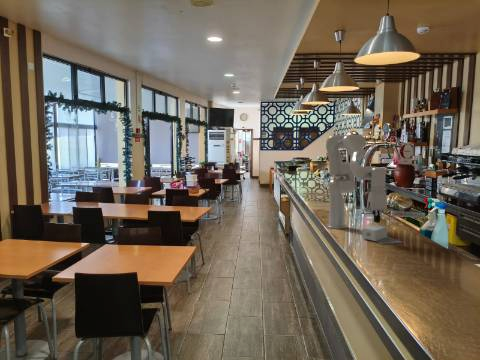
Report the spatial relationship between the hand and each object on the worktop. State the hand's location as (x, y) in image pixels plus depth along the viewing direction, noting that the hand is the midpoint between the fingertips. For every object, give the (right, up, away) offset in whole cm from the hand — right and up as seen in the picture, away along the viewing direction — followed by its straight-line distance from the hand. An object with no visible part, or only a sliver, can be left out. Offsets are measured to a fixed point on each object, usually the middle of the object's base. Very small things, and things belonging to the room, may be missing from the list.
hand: (376, 222), depth 208 cm
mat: (+5, -10, +2) cm, 12 cm away
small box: (-5, -7, +1) cm, 8 cm away
